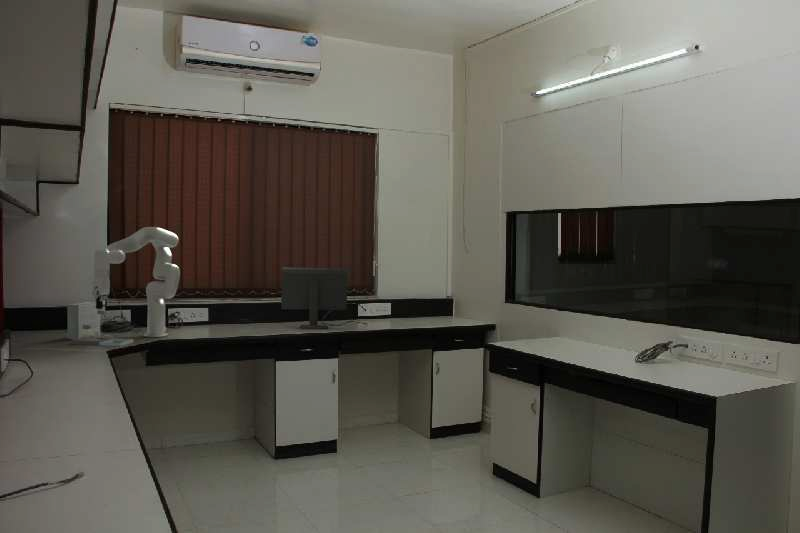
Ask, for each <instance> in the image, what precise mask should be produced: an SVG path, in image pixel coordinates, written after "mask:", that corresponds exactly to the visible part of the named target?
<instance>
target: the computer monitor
mask: <svg viewBox="0 0 800 533" xmlns="http://www.w3.org/2000/svg"><path fill="white" fill-rule="evenodd" d="M348 272H349V270H348V268H335V267H334V268H331V267H330V268H329V267H328V268H325V267H322V268H321V267H286V266H285V267H284V266H283V267H282V268H281V296H280V297H281V299H280V300H281V301H280V304H281V306H280V307H281V310H309V317H308V318H309V319H308V320H309V323H308V324H307V323H305V324H304V323H303V324H301V325H299V329H300V328H320V329H319V330H326V329H328V326H327V325H328V324H319V323H318V321H319V320H318V318H319V315H318V314H319V310H322V311H347V310H348V305H347V304H348V274H349V273H348Z"/></svg>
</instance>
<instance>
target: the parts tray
mask: <svg viewBox="0 0 800 533" xmlns="http://www.w3.org/2000/svg"><path fill="white" fill-rule="evenodd" d="M132 343H134V339H133V338H115V339H110V340H107V341H103V342H99V345H98V346H103V347H105V346H106V347H122V346H125V345H129V344H132Z"/></svg>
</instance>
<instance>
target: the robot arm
mask: <svg viewBox="0 0 800 533" xmlns="http://www.w3.org/2000/svg"><path fill="white" fill-rule="evenodd" d="M149 243H151V245H152V247H153V248H154V249H155V252H156V256H155V262H154V266H153V270H152V276H153V277H154V279H156V280H158V281H155V280H154V281H151V282H149V283H148V284H147V285H146V287H145V293H146V298H147V299H146V300H147V321H146V323H147V325H146V326H147V330H146V333H144V334H143V335H144V337H146V338H160V337H162V338H163V337H167V336H169V335H168V334H169V333H167V332H166V331H167V327H166V302H165V300H164V299H166V300H167V299H168V300H169V299H172V298H174V297H175V295H176V293H177V290H178V286H179V282H180V276H181V270H180V267H179V266H178V265H176V264H175V263H172V259H173V258H172V257H173V254H172V252H171V249H172V248H175V247H177V245H178V244H179V237H178V235H177V234H176V233H174V232H172V231H169V230H166V229H164V228H161V227H158V226H157V227H156V226H146V227H143V228H140V229H139V230H138V231H136V232H134V233H133V234H131V235H130V236H128V237H126V238H122V239H121V240H118V241H115V242H113V243H110V244H108V245H107V246H105V247H104V248H102V249H96V250H94V251H93V278H92V285H91V286H92V287H91V295H92V296H93V297H94V298H95V302H96V309H102V308H103V301H102V296H103V297H105V309H107V306H108V305H107V304H108V298H109V295H110V292H111V289H110V288H111V287H110V285H111V281H110V276H111V275H110V272H111V269H110V268H111V267H110V265H111V264H113V265H115V264H116V265H117V264H118V265H119V264H122V263H124V261H125V260H126V257H127V256H126V254H128V253H132V252H136V251H139V250H140V249H142V248H143V247H144V246H146V245H147V244H149ZM170 248H171V249H170ZM160 280H161V281H160Z"/></svg>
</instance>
